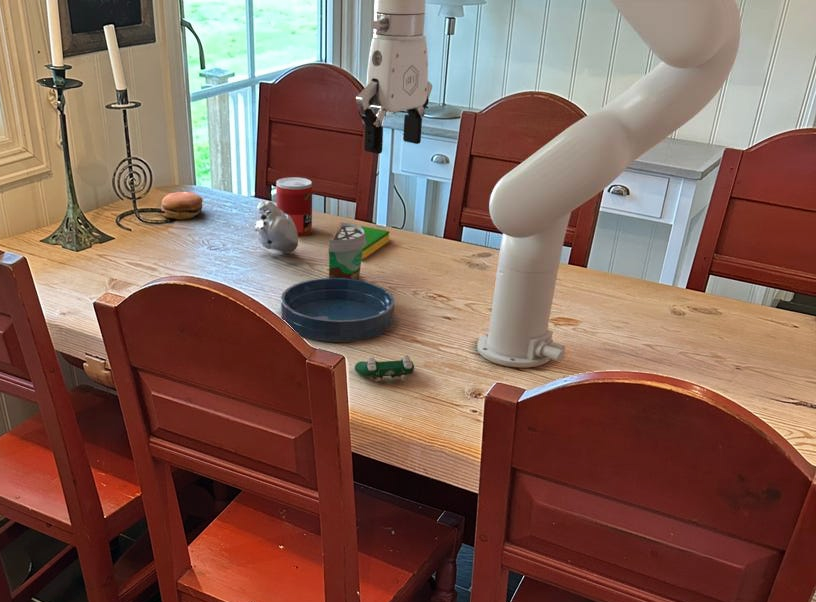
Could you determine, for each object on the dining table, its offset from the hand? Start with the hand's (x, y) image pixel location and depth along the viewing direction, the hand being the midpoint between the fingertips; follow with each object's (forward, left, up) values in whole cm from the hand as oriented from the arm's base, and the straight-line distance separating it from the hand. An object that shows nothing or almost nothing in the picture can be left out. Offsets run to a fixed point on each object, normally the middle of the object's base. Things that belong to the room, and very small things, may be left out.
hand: (392, 147), depth 136 cm
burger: (+74, -12, -30) cm, 81 cm away
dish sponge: (+29, -26, -30) cm, 50 cm away
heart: (+37, -9, -30) cm, 49 cm away
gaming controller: (-15, +17, -30) cm, 37 cm away
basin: (+6, +6, -30) cm, 31 cm away
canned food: (+47, -23, -30) cm, 61 cm away
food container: (+17, -9, -30) cm, 36 cm away
